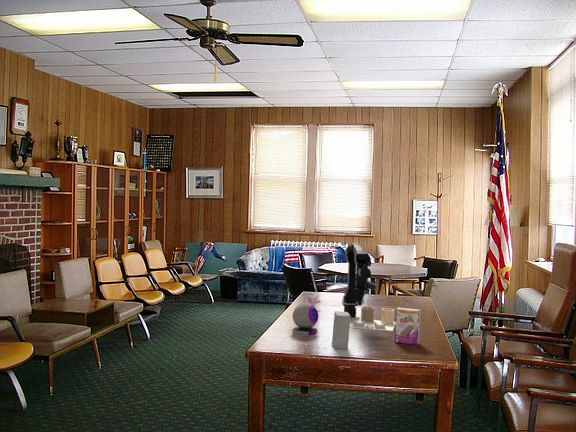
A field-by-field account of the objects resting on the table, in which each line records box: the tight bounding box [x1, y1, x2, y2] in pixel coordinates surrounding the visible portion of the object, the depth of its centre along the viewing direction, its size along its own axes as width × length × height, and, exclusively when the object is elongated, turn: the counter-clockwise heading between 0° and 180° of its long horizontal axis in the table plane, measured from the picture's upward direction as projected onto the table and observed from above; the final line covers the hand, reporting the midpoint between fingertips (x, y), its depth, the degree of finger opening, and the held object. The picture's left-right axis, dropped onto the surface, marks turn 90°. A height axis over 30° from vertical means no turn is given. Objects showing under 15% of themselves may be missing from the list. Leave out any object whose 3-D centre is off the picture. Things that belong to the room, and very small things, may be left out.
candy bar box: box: [394, 307, 421, 346], centre depth 285 cm, size 11×5×16 cm, turn 71°
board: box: [352, 306, 396, 332], centre depth 321 cm, size 21×22×8 cm
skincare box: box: [331, 311, 352, 350], centre depth 274 cm, size 8×7×16 cm
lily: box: [301, 294, 322, 307], centre depth 357 cm, size 12×12×10 cm
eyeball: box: [291, 303, 319, 337], centre depth 300 cm, size 13×13×15 cm
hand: (360, 305), depth 315 cm, fingers closed on teal ball, 4 cm apart
